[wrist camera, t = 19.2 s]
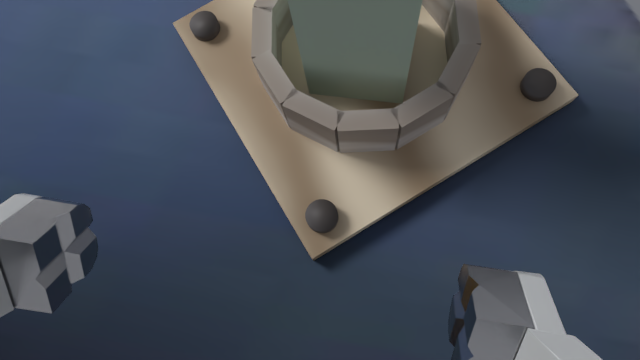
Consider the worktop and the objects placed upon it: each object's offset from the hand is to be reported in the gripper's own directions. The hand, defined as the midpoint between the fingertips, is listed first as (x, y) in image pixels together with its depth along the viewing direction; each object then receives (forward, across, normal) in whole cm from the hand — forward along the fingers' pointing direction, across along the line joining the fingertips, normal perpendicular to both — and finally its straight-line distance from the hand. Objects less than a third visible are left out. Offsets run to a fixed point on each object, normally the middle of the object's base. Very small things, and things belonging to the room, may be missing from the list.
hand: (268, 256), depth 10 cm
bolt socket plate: (+19, -1, +1) cm, 19 cm away
